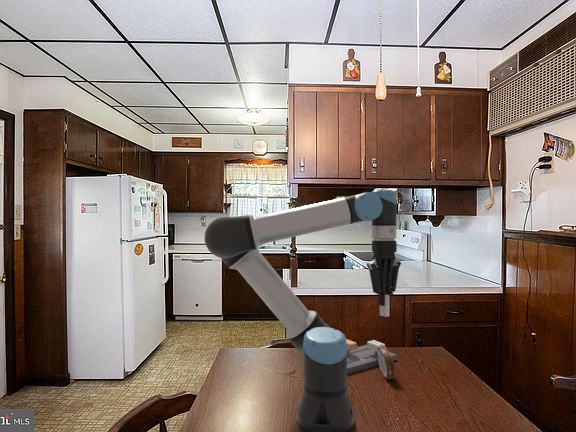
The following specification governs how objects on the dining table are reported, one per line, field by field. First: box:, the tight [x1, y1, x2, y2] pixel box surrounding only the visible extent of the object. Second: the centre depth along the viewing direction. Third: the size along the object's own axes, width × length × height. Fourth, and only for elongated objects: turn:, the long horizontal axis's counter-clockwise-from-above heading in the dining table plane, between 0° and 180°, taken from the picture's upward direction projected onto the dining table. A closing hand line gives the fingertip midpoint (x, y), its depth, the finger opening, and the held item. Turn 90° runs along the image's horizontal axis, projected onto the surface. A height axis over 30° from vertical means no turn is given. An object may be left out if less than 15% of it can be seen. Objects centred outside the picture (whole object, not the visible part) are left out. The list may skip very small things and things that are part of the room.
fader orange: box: [346, 338, 358, 353], centre depth 148 cm, size 4×6×4 cm, turn 32°
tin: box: [378, 346, 395, 380], centre depth 133 cm, size 15×3×8 cm, turn 178°
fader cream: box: [366, 339, 386, 355], centre depth 146 cm, size 4×6×4 cm, turn 32°
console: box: [347, 344, 398, 375], centre depth 145 cm, size 30×15×3 cm, turn 122°
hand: (384, 315), depth 117 cm, fingers closed
